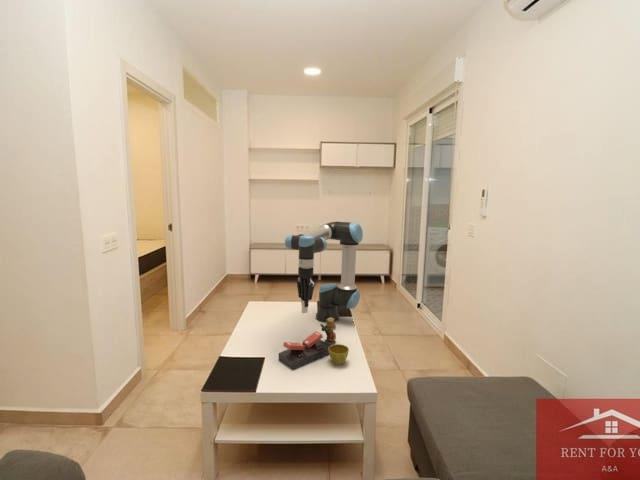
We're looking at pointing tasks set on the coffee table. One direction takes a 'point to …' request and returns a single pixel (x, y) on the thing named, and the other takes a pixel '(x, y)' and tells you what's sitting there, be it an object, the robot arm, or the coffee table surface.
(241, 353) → the coffee table surface
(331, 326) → the figurine
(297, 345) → the plate
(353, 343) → the coffee table surface
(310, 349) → the power strip
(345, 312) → the coffee table surface
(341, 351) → the flower pot
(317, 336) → the rocker
